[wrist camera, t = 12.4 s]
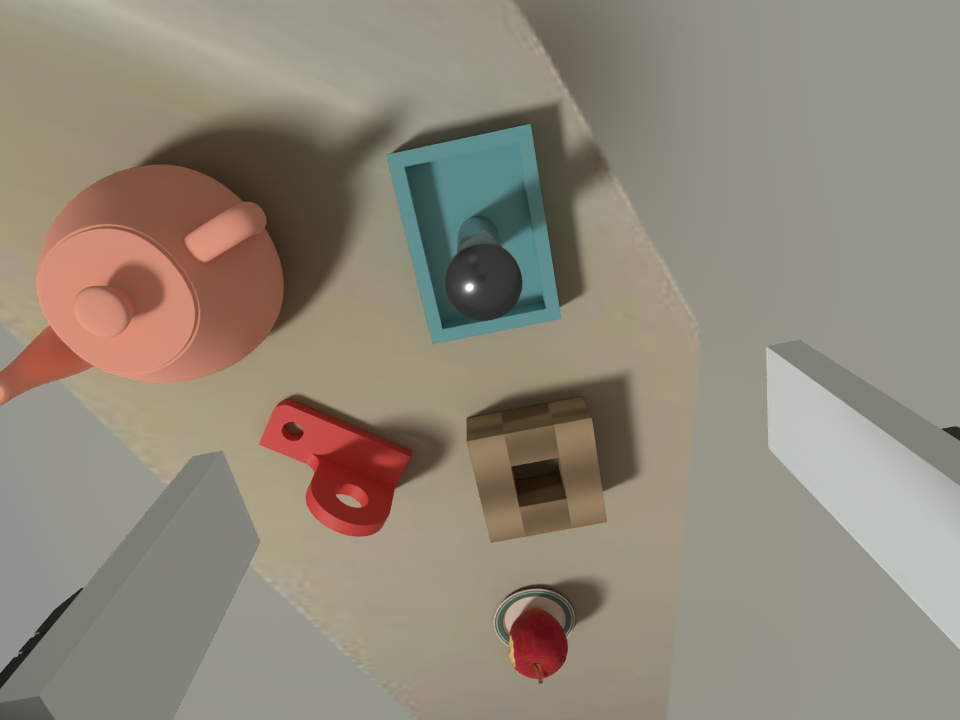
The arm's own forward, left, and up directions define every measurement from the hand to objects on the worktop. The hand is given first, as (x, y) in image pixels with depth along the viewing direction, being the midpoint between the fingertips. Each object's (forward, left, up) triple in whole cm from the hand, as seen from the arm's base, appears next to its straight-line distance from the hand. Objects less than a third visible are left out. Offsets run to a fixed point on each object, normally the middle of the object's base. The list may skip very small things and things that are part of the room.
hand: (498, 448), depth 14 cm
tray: (0, 0, -33) cm, 33 cm away
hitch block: (+20, +1, -33) cm, 38 cm away
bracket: (+15, -15, -33) cm, 40 cm away
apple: (+38, -2, -33) cm, 51 cm away
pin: (0, 0, -32) cm, 32 cm away
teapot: (-1, -23, -33) cm, 40 cm away
